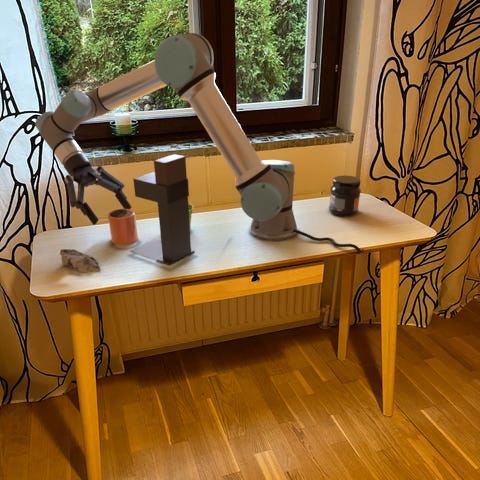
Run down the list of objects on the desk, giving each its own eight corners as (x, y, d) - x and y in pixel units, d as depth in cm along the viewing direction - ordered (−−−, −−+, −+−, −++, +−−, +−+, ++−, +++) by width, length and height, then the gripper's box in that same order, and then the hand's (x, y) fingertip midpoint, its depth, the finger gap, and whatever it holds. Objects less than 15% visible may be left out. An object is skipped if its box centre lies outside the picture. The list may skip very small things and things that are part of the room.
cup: (142, 239, 162) (138, 209, 157) (132, 250, 156) (128, 219, 150) (118, 237, 164) (114, 207, 158) (107, 247, 157) (103, 217, 152)
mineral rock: (105, 273, 142) (103, 259, 140) (78, 281, 138) (75, 267, 136) (85, 255, 152) (83, 242, 150) (59, 262, 148) (56, 248, 146)
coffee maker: (129, 255, 152) (116, 154, 136) (155, 243, 160) (145, 146, 144) (169, 270, 144) (160, 164, 128) (194, 256, 151) (189, 155, 135)
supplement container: (362, 210, 184) (366, 177, 178) (351, 219, 177) (355, 185, 170) (335, 205, 189) (338, 173, 182) (323, 213, 181) (326, 180, 175)
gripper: (100, 158, 168) (137, 210, 168) (35, 176, 151) (76, 234, 151) (108, 143, 162) (146, 198, 163) (42, 161, 145) (85, 221, 146)
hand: (113, 215), depth 157 cm, fingers open, 13 cm apart
